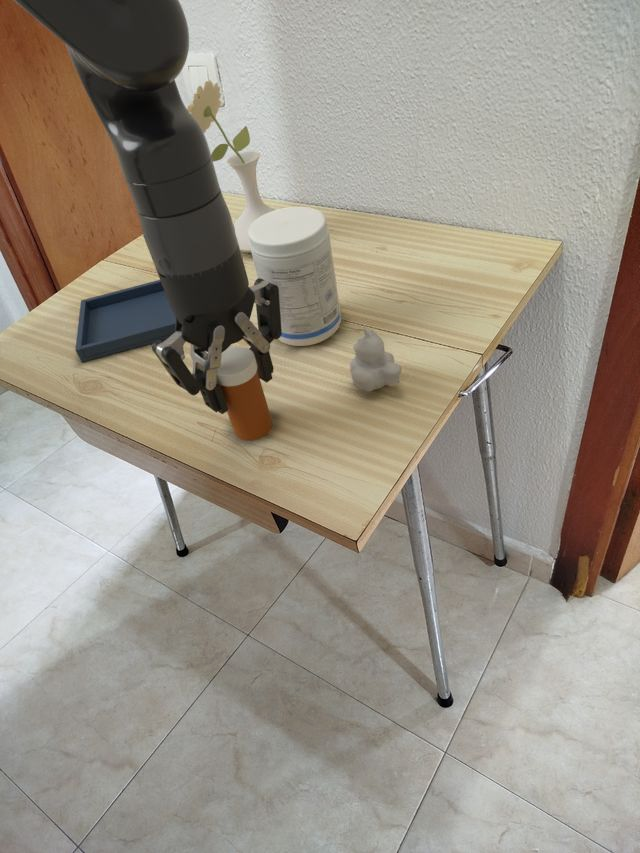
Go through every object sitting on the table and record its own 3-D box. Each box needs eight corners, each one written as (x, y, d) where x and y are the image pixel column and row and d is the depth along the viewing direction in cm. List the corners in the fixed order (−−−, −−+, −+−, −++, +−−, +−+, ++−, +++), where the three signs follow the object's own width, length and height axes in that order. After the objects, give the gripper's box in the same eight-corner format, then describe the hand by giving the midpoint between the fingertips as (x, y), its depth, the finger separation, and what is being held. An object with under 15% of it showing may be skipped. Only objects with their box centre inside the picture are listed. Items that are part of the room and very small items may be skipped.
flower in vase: (270, 220, 104) (234, 58, 86) (311, 237, 97) (280, 65, 79) (209, 251, 99) (157, 86, 81) (247, 271, 92) (200, 96, 74)
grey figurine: (367, 363, 71) (360, 307, 66) (414, 380, 68) (411, 322, 62) (340, 389, 68) (331, 333, 63) (388, 408, 65) (382, 351, 59)
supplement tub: (271, 313, 82) (246, 212, 72) (338, 301, 82) (323, 198, 72) (272, 355, 75) (245, 250, 65) (346, 342, 75) (330, 234, 65)
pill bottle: (235, 446, 64) (211, 380, 58) (230, 418, 68) (206, 353, 61) (277, 434, 65) (257, 367, 58) (269, 407, 68) (250, 341, 62)
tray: (81, 362, 81) (75, 350, 79) (86, 311, 91) (80, 300, 89) (206, 328, 82) (201, 316, 81) (197, 282, 92) (193, 270, 90)
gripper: (233, 206, 56) (270, 347, 68) (103, 274, 50) (168, 416, 62) (284, 224, 52) (314, 371, 64) (148, 301, 46) (209, 448, 58)
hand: (242, 393), depth 63 cm, fingers open, 5 cm apart
